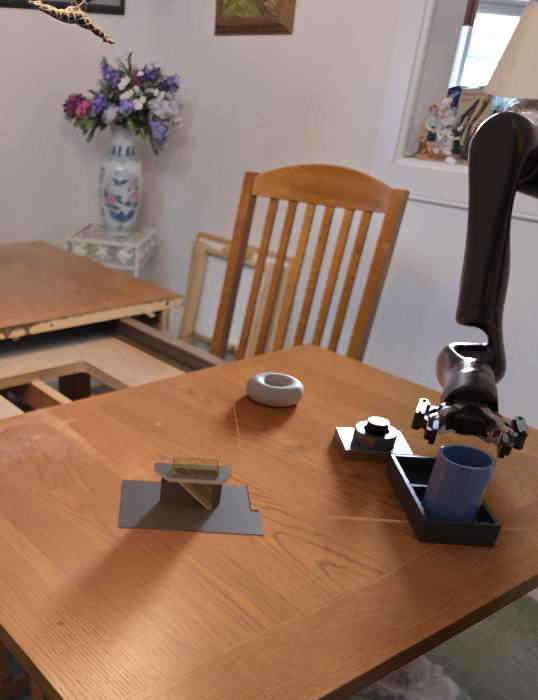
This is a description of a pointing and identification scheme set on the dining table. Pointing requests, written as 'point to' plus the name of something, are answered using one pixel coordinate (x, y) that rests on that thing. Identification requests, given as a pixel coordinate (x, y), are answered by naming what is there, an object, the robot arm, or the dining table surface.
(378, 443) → the control block
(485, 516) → the black divided tray
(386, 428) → the button
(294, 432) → the dining table surface
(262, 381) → the donut
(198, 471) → the platform
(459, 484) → the cup
